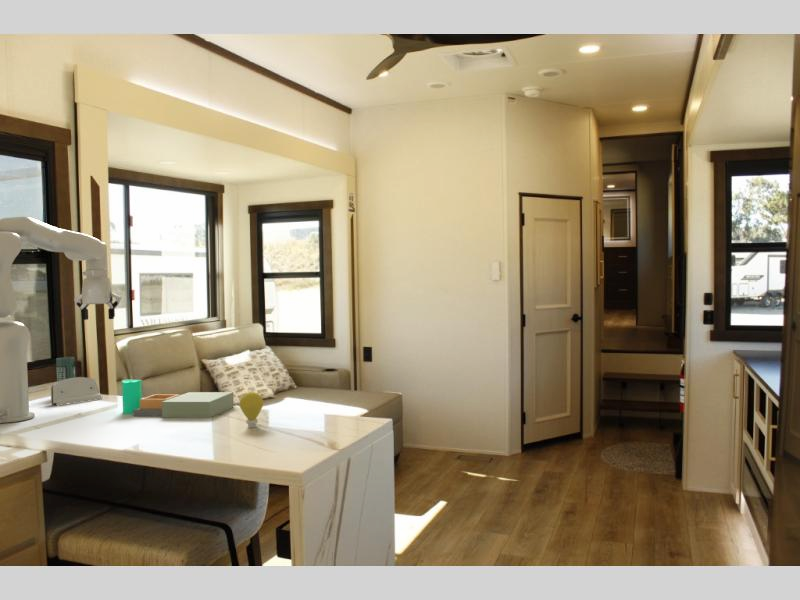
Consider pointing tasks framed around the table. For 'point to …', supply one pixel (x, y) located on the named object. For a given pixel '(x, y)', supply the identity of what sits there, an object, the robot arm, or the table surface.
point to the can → (65, 368)
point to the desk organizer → (185, 405)
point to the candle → (131, 395)
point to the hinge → (74, 390)
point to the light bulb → (251, 407)
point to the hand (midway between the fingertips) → (98, 319)
